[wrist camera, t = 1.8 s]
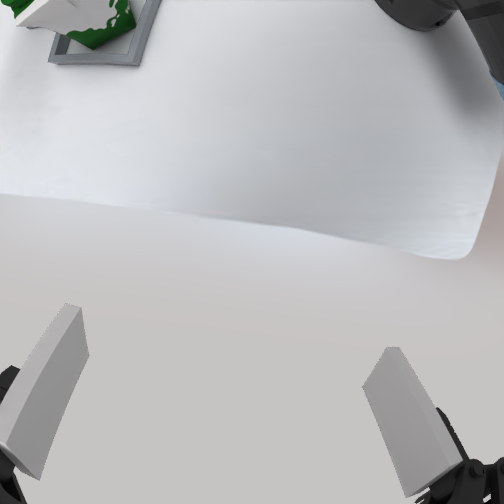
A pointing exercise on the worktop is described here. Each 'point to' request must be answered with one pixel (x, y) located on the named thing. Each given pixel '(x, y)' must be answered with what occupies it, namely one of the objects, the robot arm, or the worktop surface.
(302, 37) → the worktop surface
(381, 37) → the worktop surface
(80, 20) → the soya milk
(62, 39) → the socket frame
